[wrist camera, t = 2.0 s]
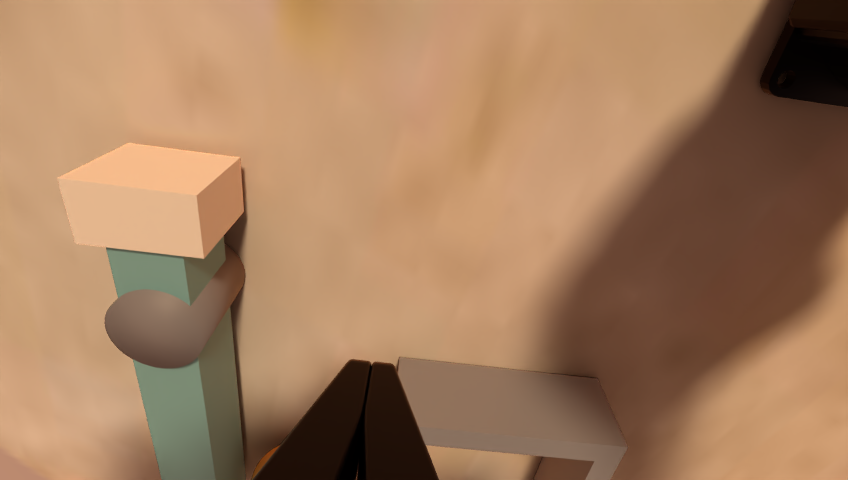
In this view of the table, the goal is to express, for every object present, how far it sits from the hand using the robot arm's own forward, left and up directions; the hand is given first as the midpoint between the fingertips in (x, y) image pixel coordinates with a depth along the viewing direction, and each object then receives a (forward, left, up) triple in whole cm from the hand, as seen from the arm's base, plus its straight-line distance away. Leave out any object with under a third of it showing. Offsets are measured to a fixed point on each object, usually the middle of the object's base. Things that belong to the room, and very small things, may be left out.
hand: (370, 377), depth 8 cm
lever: (+7, +8, -9) cm, 14 cm away
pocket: (-5, +15, -9) cm, 18 cm away
